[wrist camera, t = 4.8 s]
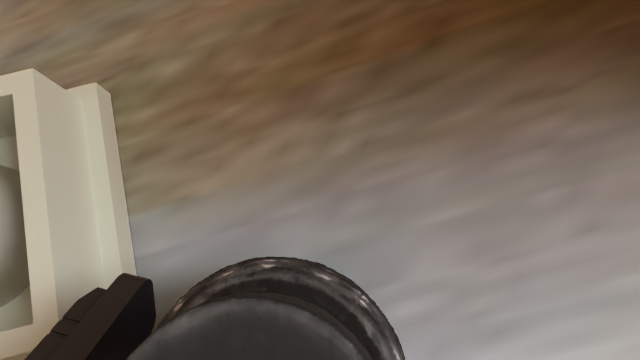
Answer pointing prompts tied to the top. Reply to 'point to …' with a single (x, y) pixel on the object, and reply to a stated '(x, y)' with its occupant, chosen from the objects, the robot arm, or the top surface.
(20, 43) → the top surface
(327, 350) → the pill bottle
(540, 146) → the top surface
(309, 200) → the top surface
